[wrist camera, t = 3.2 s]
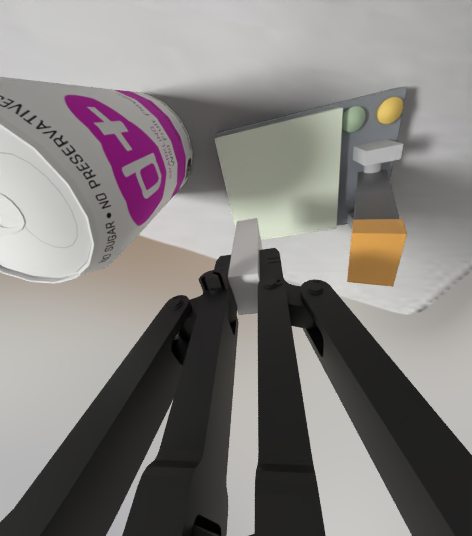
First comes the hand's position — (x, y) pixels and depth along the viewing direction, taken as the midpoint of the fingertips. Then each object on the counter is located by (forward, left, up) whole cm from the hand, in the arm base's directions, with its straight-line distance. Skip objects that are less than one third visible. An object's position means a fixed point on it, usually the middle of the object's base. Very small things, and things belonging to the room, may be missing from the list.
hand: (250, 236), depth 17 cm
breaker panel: (-2, +5, -8) cm, 9 cm away
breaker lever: (0, +10, -5) cm, 11 cm away
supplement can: (-7, -8, -8) cm, 13 cm away
